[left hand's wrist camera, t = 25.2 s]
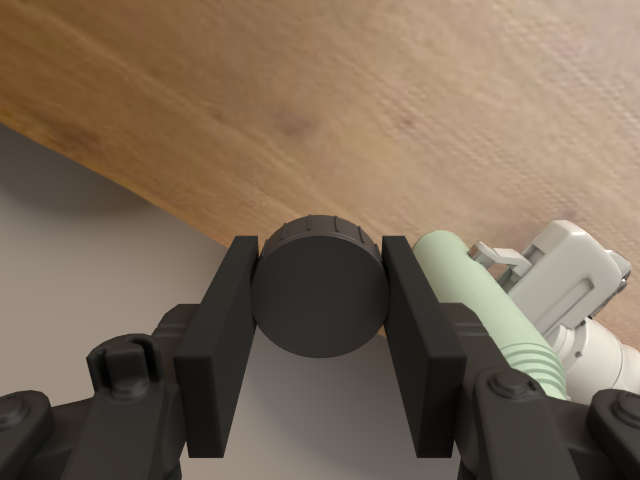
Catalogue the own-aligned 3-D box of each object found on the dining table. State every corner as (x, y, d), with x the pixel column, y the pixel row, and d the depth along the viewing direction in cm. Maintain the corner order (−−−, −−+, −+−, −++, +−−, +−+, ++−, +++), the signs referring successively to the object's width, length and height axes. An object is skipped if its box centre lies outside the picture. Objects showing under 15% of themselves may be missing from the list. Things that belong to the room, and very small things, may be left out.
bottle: (472, 236, 42) (631, 408, 21) (454, 282, 44) (580, 483, 23) (421, 224, 42) (529, 388, 20) (404, 272, 44) (486, 466, 22)
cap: (360, 195, 13) (366, 213, 12) (398, 306, 15) (408, 336, 13) (236, 238, 14) (224, 261, 12) (285, 340, 16) (280, 374, 14)
